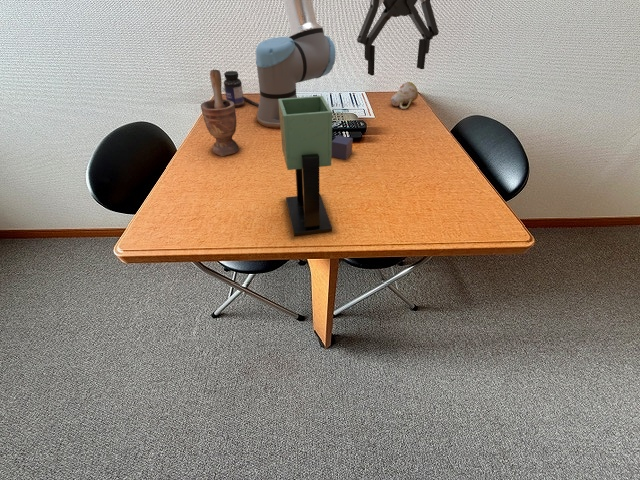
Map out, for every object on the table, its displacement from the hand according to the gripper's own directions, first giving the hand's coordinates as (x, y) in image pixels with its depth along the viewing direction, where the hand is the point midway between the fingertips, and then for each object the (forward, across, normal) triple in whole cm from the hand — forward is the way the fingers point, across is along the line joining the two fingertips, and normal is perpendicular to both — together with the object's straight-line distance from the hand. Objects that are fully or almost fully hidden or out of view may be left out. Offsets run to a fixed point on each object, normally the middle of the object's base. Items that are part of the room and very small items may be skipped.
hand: (395, 71), depth 88 cm
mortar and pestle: (+17, -48, +10) cm, 52 cm away
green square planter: (+7, -30, -28) cm, 42 cm away
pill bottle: (+14, -43, +45) cm, 63 cm away
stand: (+21, -31, -27) cm, 46 cm away
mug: (+18, +17, +31) cm, 40 cm away
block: (+20, -16, -2) cm, 25 cm away
